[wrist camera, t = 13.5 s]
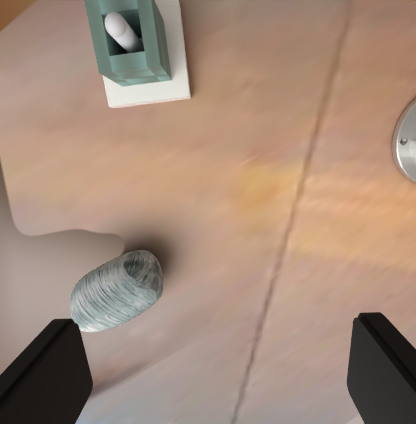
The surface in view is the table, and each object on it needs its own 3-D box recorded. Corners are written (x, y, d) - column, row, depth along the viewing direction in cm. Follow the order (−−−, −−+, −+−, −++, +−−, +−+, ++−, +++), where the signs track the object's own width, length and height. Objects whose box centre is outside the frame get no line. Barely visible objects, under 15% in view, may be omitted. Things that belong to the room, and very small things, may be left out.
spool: (140, 228, 33) (119, 302, 26) (181, 263, 38) (172, 331, 32) (71, 254, 38) (38, 322, 31) (116, 282, 44) (97, 344, 37)
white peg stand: (180, 4, 28) (161, -66, 19) (191, 98, 31) (179, 78, 22) (96, 17, 29) (36, -45, 20) (113, 108, 32) (69, 93, 22)
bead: (163, 21, 28) (149, -11, 22) (171, 80, 29) (160, 64, 23) (111, 28, 28) (84, -1, 22) (122, 86, 30) (99, 73, 24)
